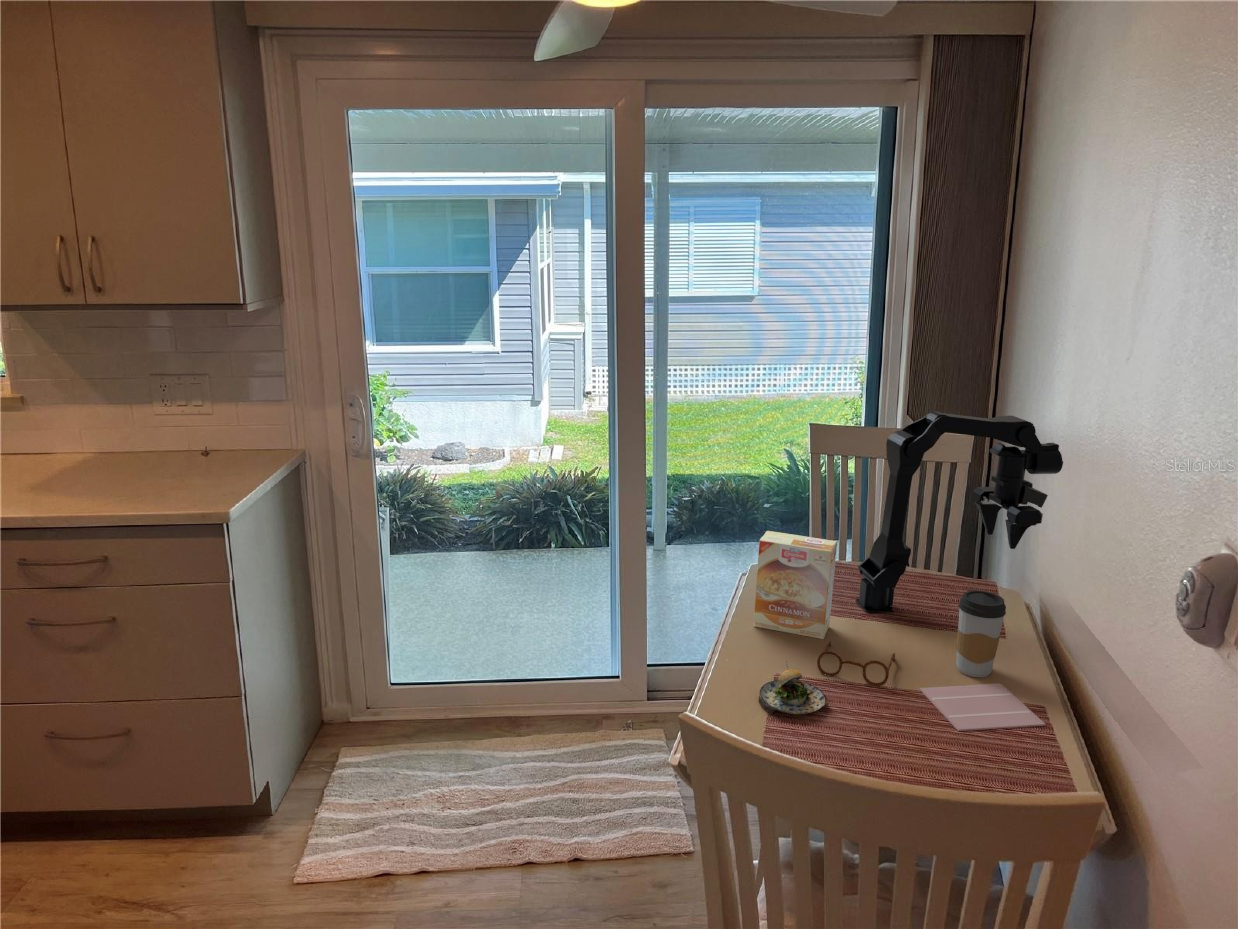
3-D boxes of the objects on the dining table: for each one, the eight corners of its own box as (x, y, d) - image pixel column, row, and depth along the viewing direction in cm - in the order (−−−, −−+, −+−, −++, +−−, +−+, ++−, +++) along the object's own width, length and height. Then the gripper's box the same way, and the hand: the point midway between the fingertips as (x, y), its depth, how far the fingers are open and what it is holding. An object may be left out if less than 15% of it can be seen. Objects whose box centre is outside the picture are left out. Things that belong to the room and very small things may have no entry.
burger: (766, 722, 153) (769, 683, 151) (752, 688, 164) (754, 650, 162) (835, 721, 154) (839, 682, 152) (815, 687, 165) (819, 650, 163)
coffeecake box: (752, 627, 189) (758, 539, 183) (760, 614, 195) (766, 529, 190) (824, 640, 183) (832, 551, 178) (829, 626, 190) (837, 539, 184)
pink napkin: (957, 731, 151) (958, 729, 151) (919, 689, 164) (919, 687, 164) (1045, 725, 153) (1045, 723, 153) (1000, 685, 167) (1000, 683, 167)
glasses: (815, 675, 170) (817, 651, 169) (828, 646, 181) (831, 624, 180) (886, 690, 165) (889, 665, 164) (895, 660, 176) (898, 637, 175)
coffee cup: (995, 664, 175) (1006, 593, 171) (998, 684, 167) (1009, 610, 163) (950, 656, 177) (959, 586, 173) (950, 676, 170) (960, 603, 166)
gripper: (1070, 485, 188) (1059, 555, 192) (1020, 462, 206) (1011, 526, 210) (1021, 486, 187) (1011, 557, 191) (975, 463, 204) (966, 528, 208)
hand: (1000, 541), depth 200 cm, fingers open, 9 cm apart
